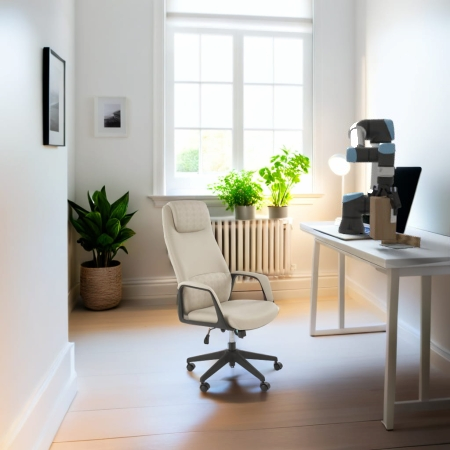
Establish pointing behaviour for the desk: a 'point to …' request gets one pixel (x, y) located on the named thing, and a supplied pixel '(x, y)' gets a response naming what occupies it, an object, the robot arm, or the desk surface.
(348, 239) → the desk surface
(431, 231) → the desk surface
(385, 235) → the wooden block
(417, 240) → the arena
